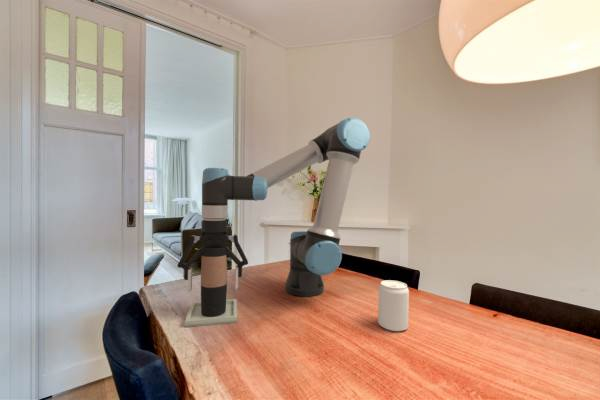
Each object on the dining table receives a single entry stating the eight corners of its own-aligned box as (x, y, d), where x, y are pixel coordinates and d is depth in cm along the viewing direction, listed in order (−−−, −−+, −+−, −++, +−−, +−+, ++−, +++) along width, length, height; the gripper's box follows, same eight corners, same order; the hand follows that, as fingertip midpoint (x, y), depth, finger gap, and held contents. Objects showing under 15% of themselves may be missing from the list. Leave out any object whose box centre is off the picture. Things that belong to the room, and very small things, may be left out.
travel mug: (194, 314, 81) (195, 247, 81) (212, 305, 88) (212, 243, 88) (215, 319, 78) (216, 249, 78) (231, 309, 85) (232, 245, 85)
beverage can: (407, 322, 80) (408, 281, 80) (408, 335, 72) (409, 290, 72) (378, 317, 82) (379, 278, 82) (377, 329, 75) (378, 286, 75)
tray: (236, 303, 91) (236, 299, 91) (237, 322, 78) (237, 317, 78) (192, 307, 88) (192, 302, 88) (184, 327, 74) (184, 321, 74)
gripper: (255, 218, 89) (254, 282, 89) (172, 218, 83) (171, 287, 83) (257, 220, 82) (256, 290, 82) (167, 220, 76) (166, 296, 76)
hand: (213, 289), depth 83 cm, fingers open, 13 cm apart
